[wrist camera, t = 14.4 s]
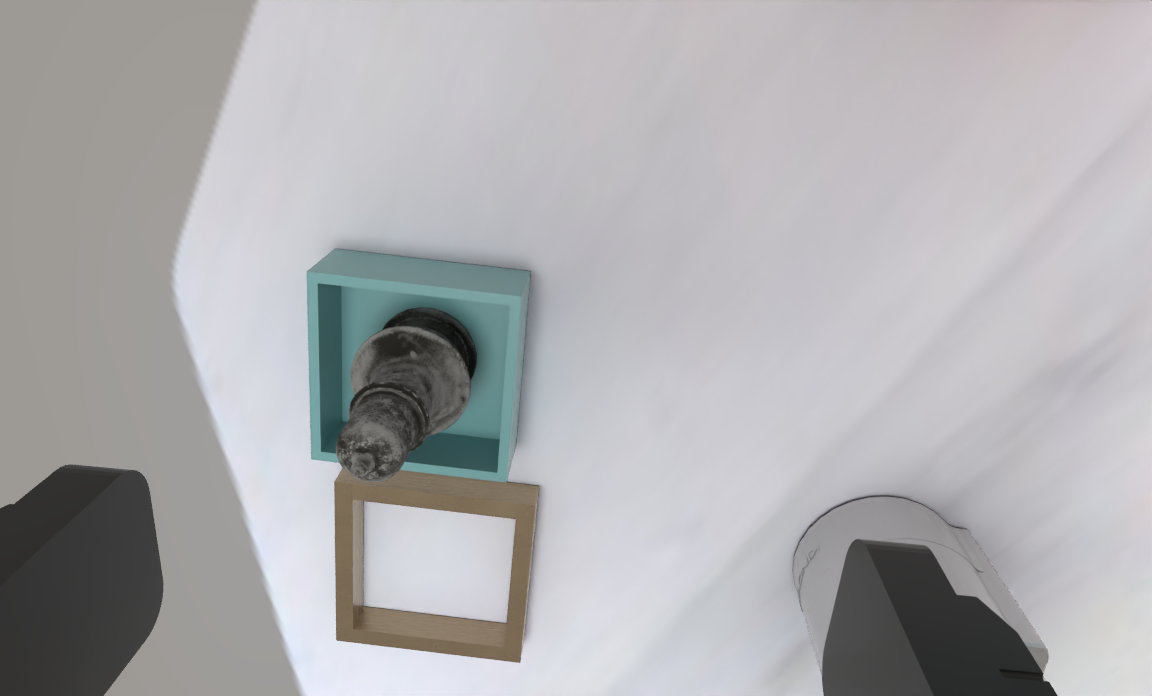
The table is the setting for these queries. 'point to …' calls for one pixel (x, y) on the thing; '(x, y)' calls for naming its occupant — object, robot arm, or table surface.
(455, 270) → the bin
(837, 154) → the table surface
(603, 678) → the table surface
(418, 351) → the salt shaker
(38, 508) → the robot arm
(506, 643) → the socket collar
